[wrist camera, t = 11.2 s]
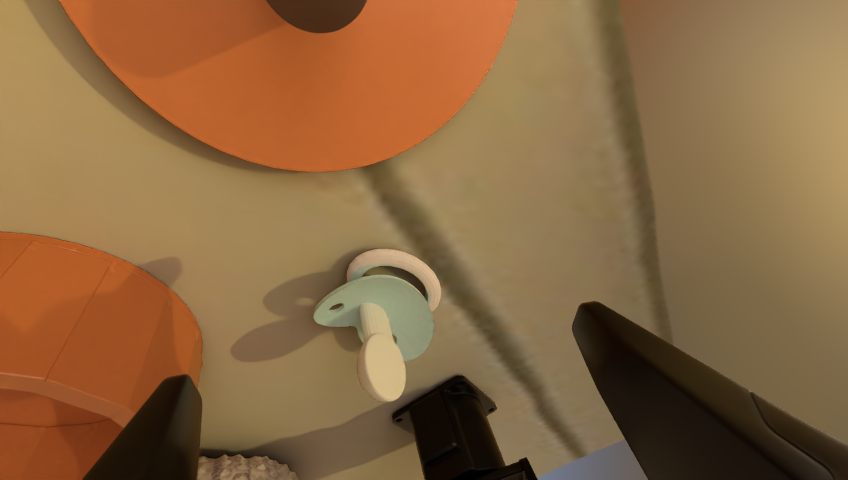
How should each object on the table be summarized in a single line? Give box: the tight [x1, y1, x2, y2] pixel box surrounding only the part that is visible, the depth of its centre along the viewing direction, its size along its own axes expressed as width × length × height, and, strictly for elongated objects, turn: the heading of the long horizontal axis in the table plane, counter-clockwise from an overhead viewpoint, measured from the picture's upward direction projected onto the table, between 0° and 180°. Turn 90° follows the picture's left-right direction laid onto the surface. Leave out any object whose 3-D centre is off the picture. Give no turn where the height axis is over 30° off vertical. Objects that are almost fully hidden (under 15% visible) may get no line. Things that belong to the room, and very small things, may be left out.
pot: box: [0, 232, 202, 480], centre depth 17 cm, size 14×14×6 cm
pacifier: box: [314, 249, 441, 402], centre depth 21 cm, size 7×6×6 cm
